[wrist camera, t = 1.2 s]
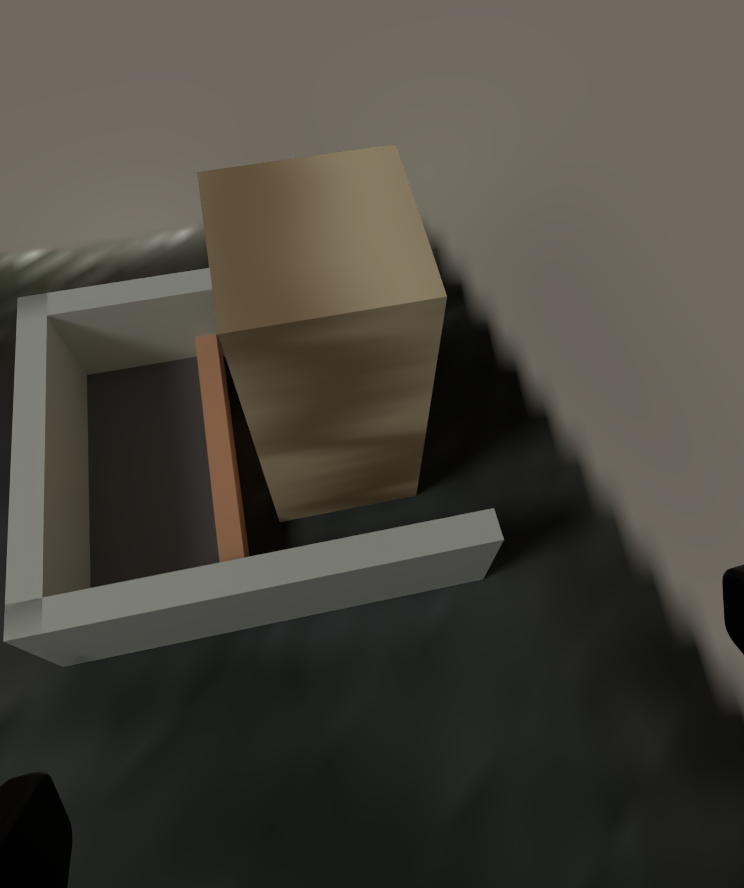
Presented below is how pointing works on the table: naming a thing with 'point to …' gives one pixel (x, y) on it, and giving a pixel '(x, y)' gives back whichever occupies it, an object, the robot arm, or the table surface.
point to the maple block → (327, 322)
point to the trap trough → (166, 489)
